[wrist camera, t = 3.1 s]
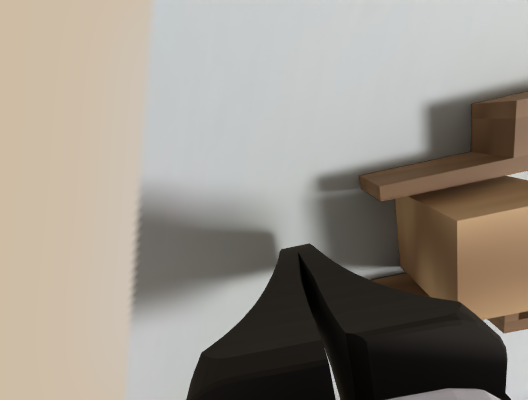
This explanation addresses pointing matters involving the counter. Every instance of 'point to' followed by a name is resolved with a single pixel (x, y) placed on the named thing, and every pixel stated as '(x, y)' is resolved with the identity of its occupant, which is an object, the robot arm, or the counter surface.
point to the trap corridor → (464, 173)
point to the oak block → (469, 244)
